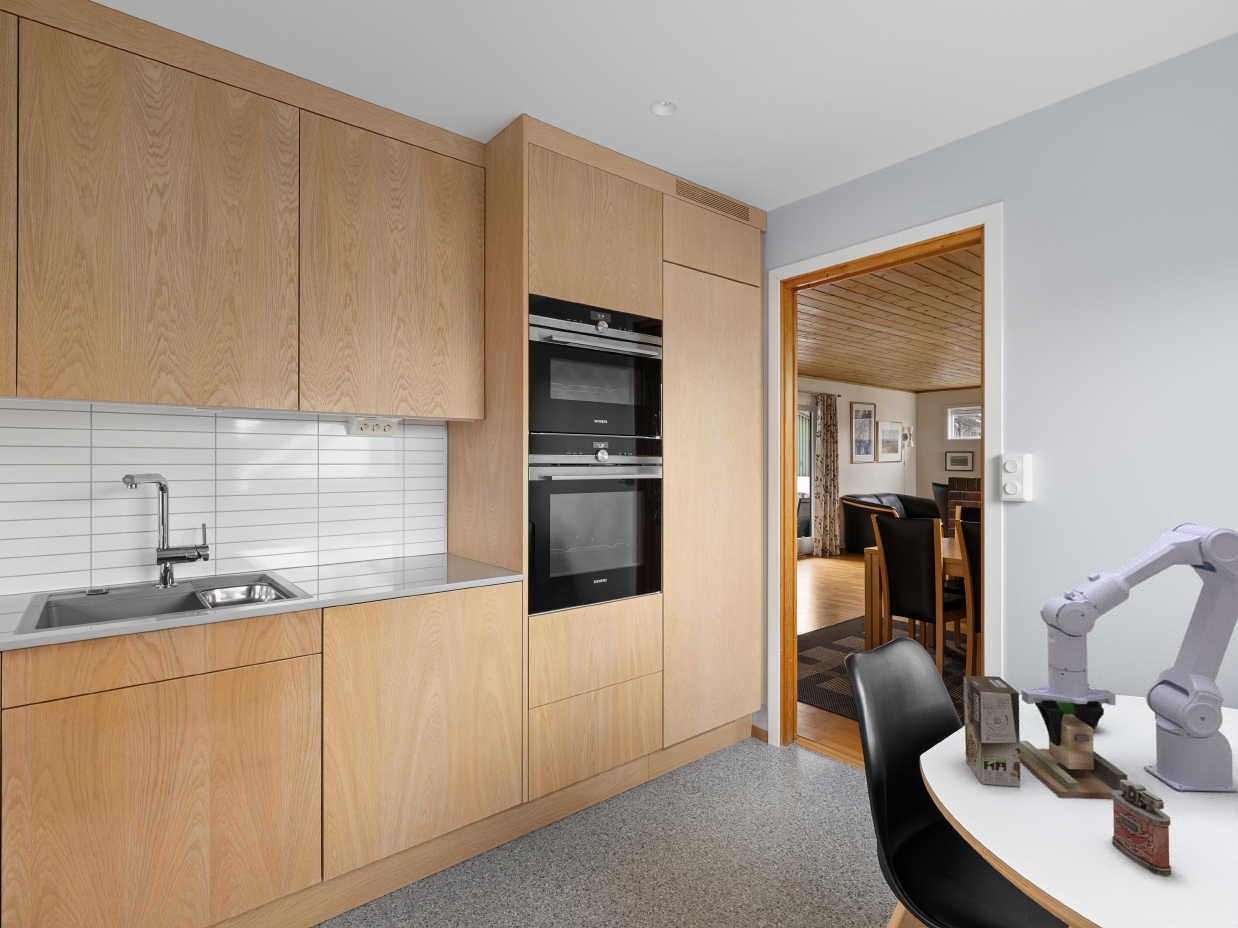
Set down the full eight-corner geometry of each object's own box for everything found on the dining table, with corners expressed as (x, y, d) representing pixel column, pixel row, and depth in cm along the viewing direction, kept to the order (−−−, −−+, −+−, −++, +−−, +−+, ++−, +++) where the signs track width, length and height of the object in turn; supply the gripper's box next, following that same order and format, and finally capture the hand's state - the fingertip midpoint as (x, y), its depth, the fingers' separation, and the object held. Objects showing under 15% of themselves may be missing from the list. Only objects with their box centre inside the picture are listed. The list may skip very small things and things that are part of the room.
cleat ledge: (1078, 754, 122) (1077, 733, 122) (1137, 799, 106) (1137, 775, 106) (1010, 753, 123) (1010, 732, 123) (1059, 797, 107) (1059, 773, 107)
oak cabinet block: (1072, 753, 117) (1072, 714, 117) (1095, 771, 110) (1095, 730, 110) (1049, 752, 117) (1048, 714, 117) (1070, 770, 111) (1070, 729, 111)
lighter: (1105, 841, 95) (1104, 773, 95) (1127, 839, 95) (1125, 772, 95) (1155, 876, 87) (1154, 802, 87) (1179, 874, 87) (1177, 800, 87)
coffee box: (1022, 787, 111) (1020, 693, 111) (981, 784, 112) (979, 691, 112) (1002, 762, 120) (1000, 675, 120) (964, 760, 121) (962, 674, 121)
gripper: (1036, 673, 111) (1037, 752, 111) (1127, 674, 110) (1128, 754, 110) (1015, 660, 118) (1016, 735, 118) (1100, 661, 117) (1101, 736, 117)
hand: (1068, 743), depth 115 cm, fingers closed on oak cabinet block, 4 cm apart
